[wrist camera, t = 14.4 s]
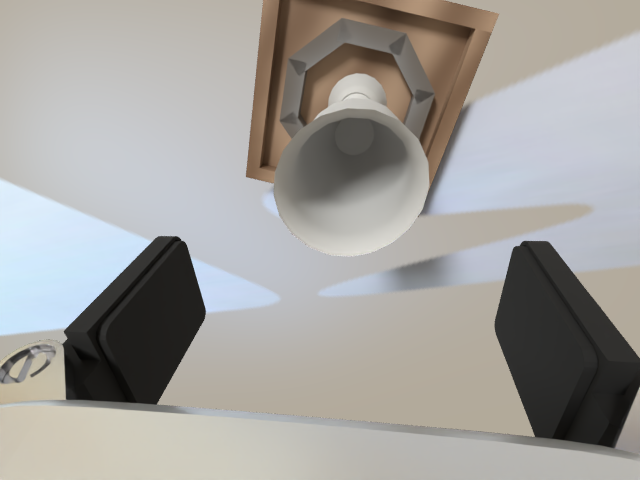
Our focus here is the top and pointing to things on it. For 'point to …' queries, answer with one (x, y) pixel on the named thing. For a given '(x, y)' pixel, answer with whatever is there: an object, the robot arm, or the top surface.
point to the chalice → (352, 174)
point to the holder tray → (363, 67)
